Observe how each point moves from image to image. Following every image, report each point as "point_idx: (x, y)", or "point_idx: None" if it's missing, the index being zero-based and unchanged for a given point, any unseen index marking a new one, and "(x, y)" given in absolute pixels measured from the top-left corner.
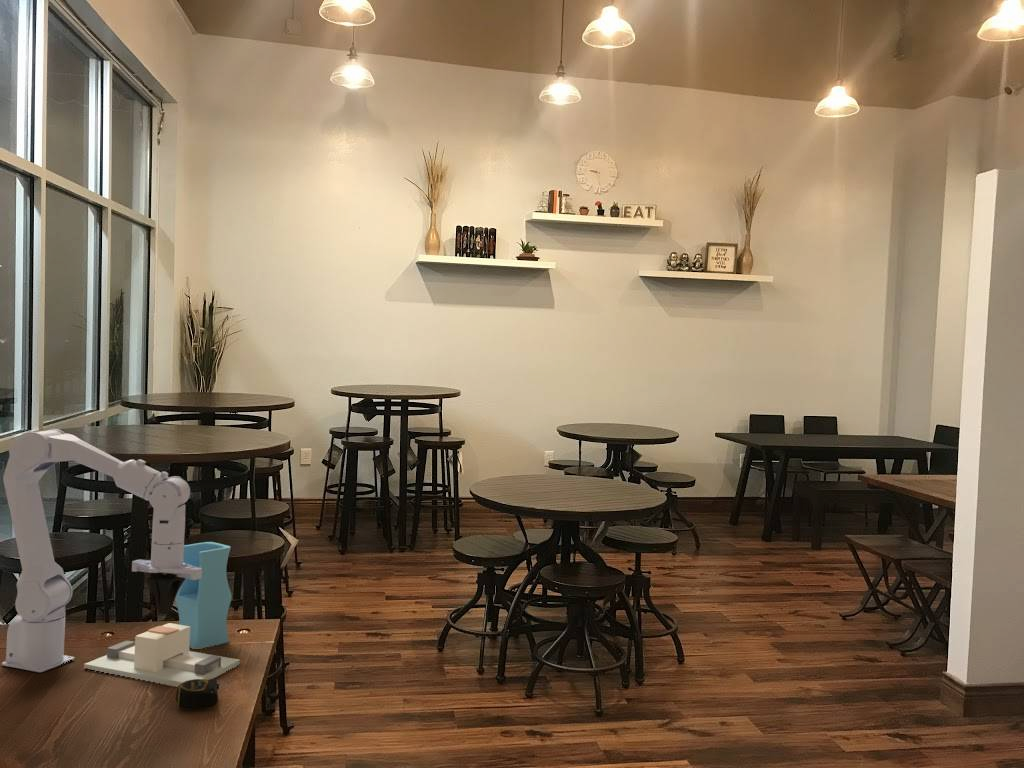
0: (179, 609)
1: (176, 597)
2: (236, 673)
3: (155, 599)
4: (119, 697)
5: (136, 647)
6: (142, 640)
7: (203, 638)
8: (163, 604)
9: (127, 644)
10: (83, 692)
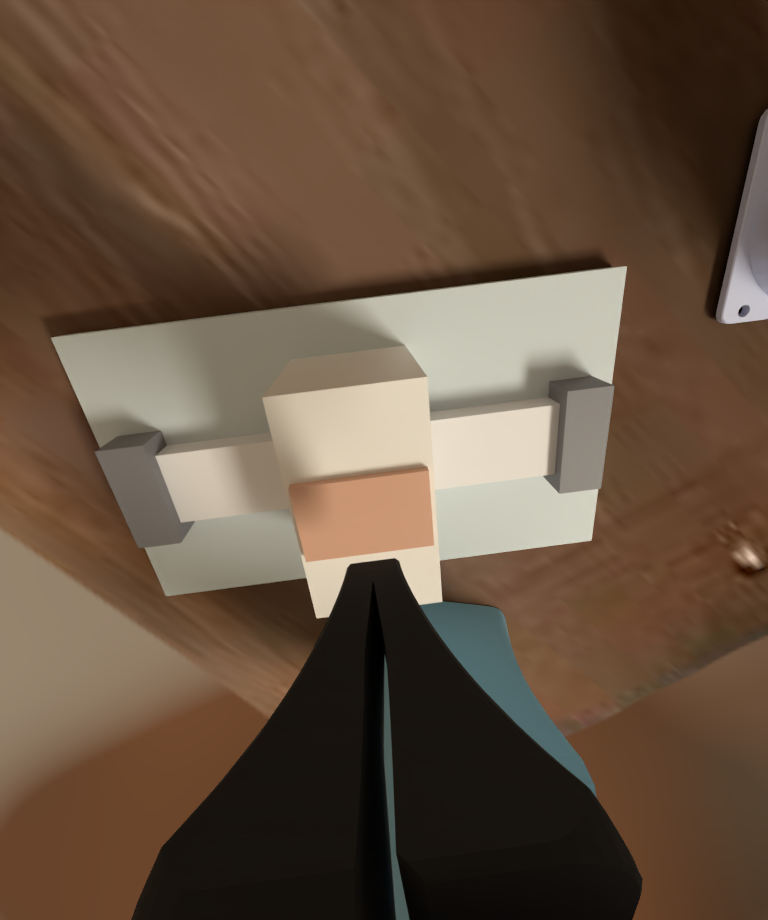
0: (538, 719)
1: (581, 771)
2: (109, 531)
3: (420, 623)
4: (215, 80)
5: (406, 363)
6: (371, 378)
7: None
8: (333, 610)
9: (565, 459)
10: (409, 28)
